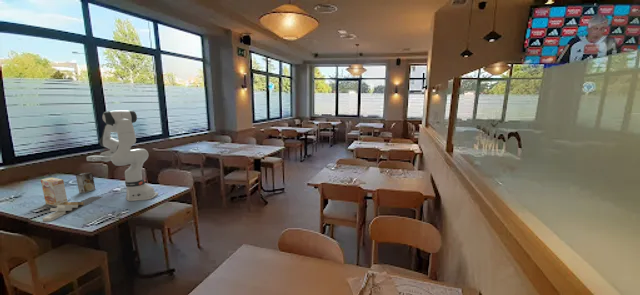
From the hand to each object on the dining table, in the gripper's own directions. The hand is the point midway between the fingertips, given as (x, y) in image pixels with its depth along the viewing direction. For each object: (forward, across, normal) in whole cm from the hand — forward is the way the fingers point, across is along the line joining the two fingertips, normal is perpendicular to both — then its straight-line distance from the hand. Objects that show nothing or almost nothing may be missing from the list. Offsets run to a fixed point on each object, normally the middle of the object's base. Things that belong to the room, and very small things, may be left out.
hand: (93, 160), depth 214 cm
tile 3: (+31, +2, +28) cm, 42 cm away
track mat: (+22, +2, +30) cm, 37 cm away
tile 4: (+36, +2, +28) cm, 46 cm away
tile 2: (+26, +2, +28) cm, 39 cm away
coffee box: (-9, -17, +30) cm, 36 cm away
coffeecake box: (+17, -19, +30) cm, 39 cm away
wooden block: (+21, +2, +28) cm, 35 cm away
